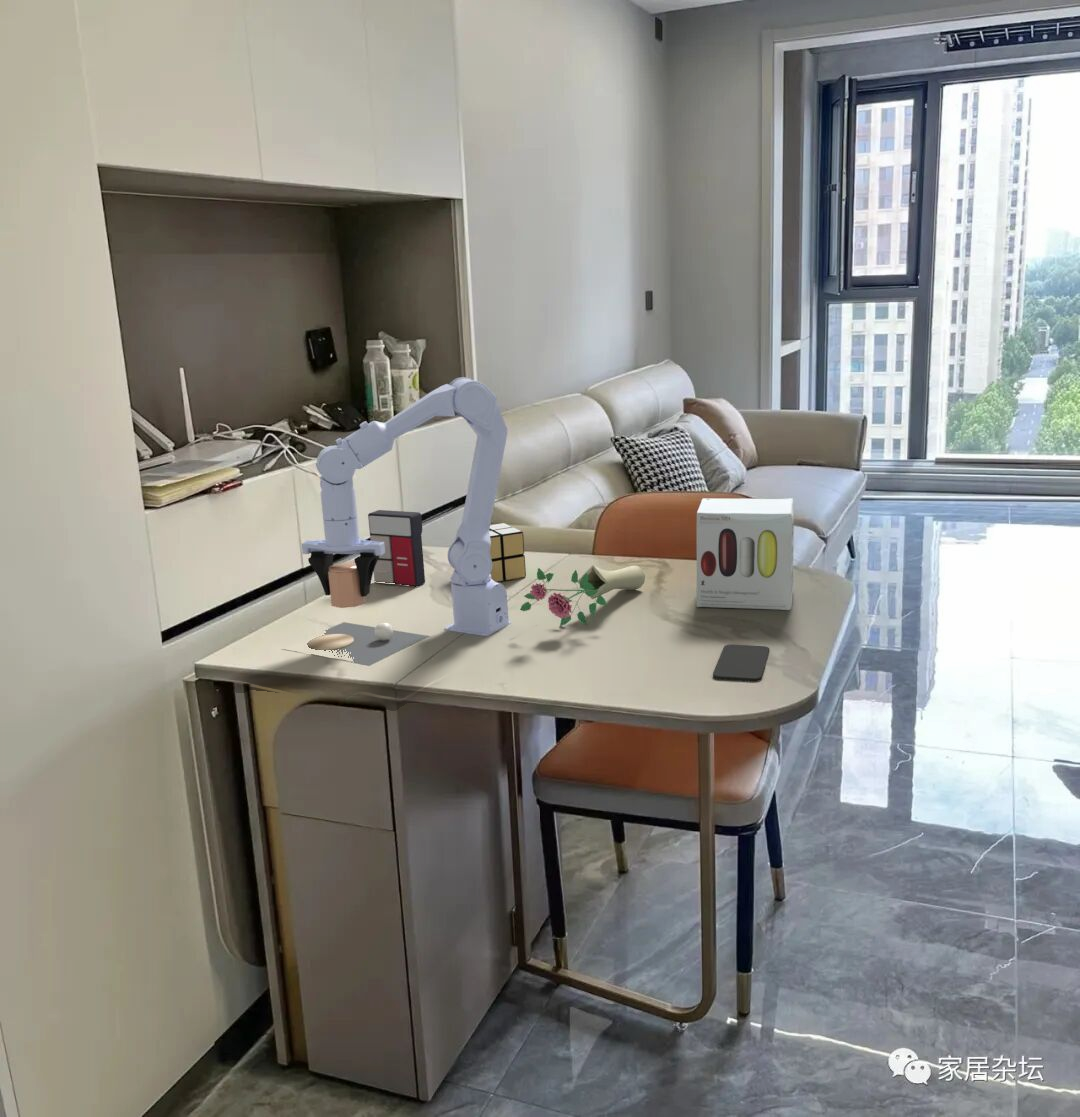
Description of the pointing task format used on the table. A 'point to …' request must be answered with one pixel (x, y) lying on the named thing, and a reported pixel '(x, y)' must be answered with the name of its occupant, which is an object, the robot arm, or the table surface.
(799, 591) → the table surface
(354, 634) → the placemat
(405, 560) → the grey and red box
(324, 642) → the coaster
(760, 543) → the supplement box
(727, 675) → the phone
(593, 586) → the flower vase
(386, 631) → the ball
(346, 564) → the cup
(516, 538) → the puzzle cube
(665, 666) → the table surface
